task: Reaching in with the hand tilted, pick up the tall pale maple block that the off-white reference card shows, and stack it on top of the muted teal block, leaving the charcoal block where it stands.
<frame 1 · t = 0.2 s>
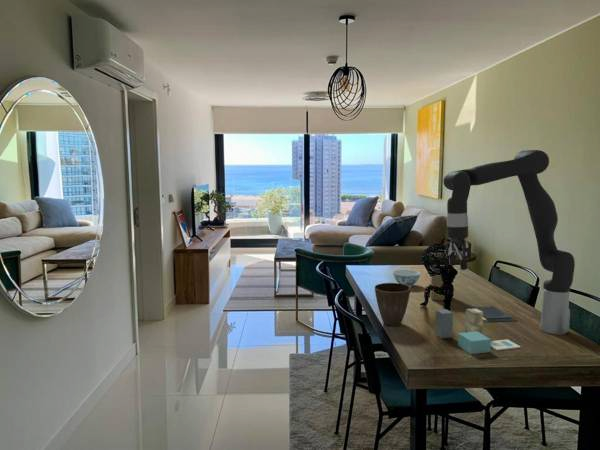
hand: (457, 267, 164), 29 cm above the table, tool pointing down, fingers open, 8 cm apart
maple block: (473, 334, 173), on the table
charcoal block: (443, 335, 173), on the table
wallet: (489, 316, 198), on the table
reference card: (502, 345, 163), on the table
plant pot: (391, 323, 187), on the table
chinaware: (406, 286, 248), on the table
teal base block: (473, 349, 160), on the table
wooden block: (441, 298, 223), on the table
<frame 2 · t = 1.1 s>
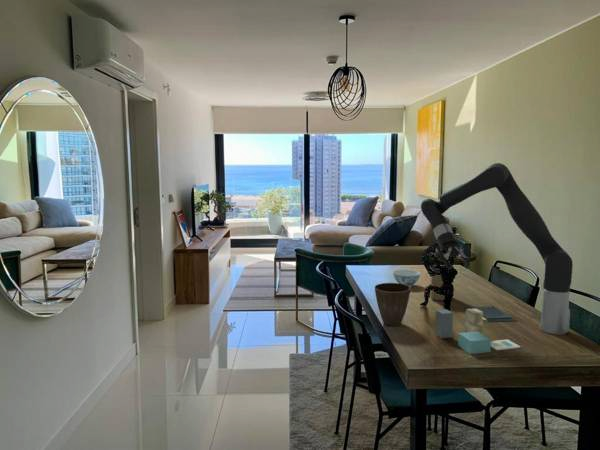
hand: (459, 267, 181), 25 cm above the table, tool tilted 45°, fingers open, 8 cm apart
nothing on the table moved.
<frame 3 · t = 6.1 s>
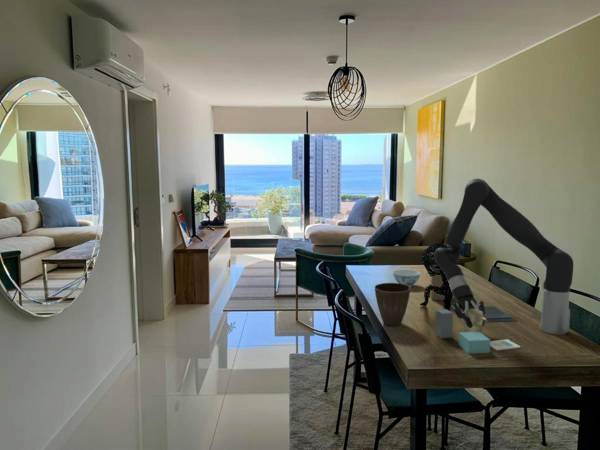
hand: (476, 326, 171), 4 cm above the table, tool tilted 45°, fingers closed on maple block, 4 cm apart
maple block: (473, 334, 173), on the table, touching gripper
everything else where it was.
when the fingers open (10 cm above the table, at t = 11.9 s): maple block drops 2 cm, point 5 cm above the table.
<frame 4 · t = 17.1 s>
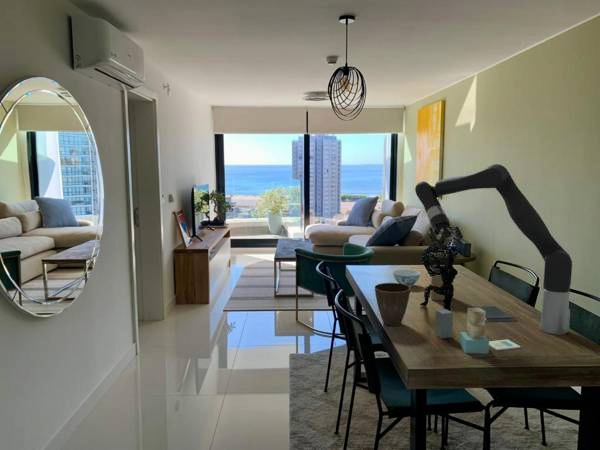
hand: (451, 248, 183), 33 cm above the table, tool tilted 45°, fingers open, 8 cm apart
maple block: (474, 335, 160), point 5 cm above the table
at the end: maple block 0.4 cm off-centre on the teal base block, point 5.1 cm above the teal base block's base; maple block tilted 1°; charcoal block moved 0.0 cm from its start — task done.
